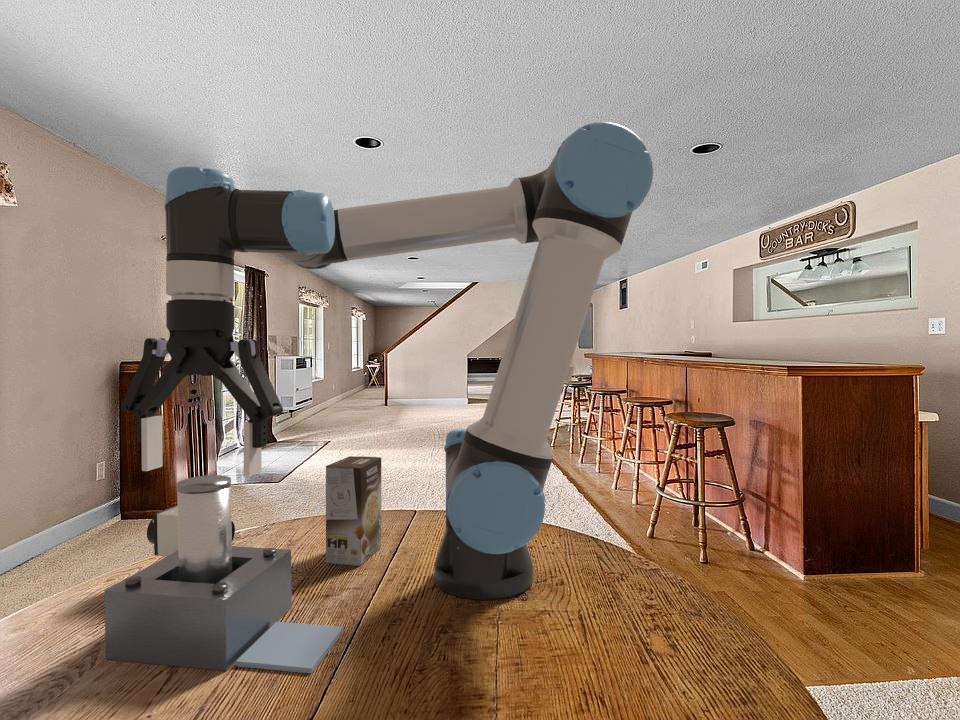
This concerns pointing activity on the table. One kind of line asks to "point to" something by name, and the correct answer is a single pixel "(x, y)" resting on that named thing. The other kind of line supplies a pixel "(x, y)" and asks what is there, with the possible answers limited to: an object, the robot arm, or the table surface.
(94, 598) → the table surface
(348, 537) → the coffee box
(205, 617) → the housing
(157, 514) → the pneumatic valve
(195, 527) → the metal cylinder
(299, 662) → the pad
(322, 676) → the table surface
